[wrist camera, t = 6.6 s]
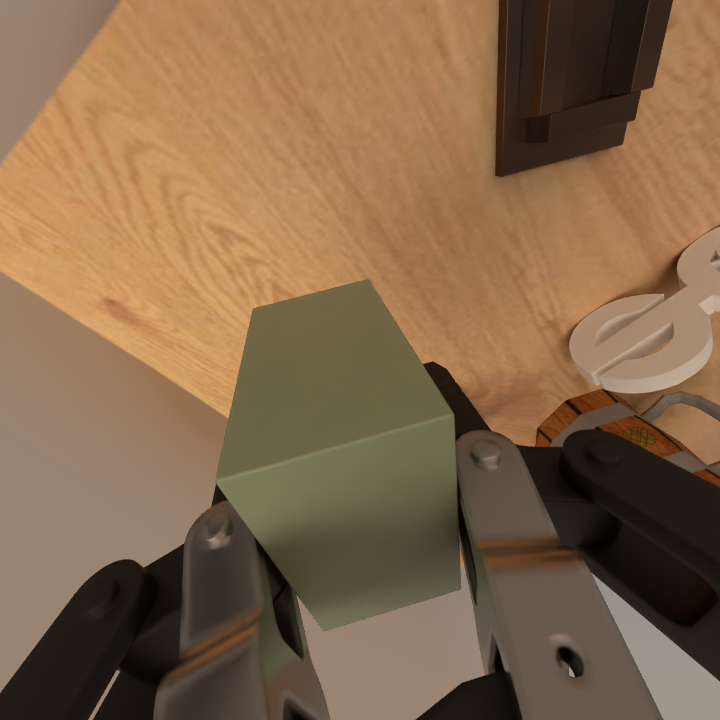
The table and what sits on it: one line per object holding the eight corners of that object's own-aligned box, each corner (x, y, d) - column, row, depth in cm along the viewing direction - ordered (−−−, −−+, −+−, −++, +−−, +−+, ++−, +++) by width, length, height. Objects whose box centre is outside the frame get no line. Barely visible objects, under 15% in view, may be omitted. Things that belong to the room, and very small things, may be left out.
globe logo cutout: (752, 201, 31) (919, 219, 23) (752, 219, 33) (911, 243, 24) (547, 342, 36) (625, 400, 28) (554, 354, 37) (630, 413, 29)
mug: (548, 473, 50) (633, 579, 38) (519, 428, 43) (613, 540, 31) (672, 403, 47) (812, 495, 34) (664, 341, 40) (837, 428, 27)
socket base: (501, -108, 18) (541, -156, 15) (668, -146, 18) (739, -201, 16) (494, 176, 26) (520, 179, 23) (612, 144, 26) (653, 144, 23)
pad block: (252, 308, 9) (213, 482, 4) (369, 278, 10) (455, 414, 5) (309, 445, 13) (322, 632, 8) (395, 421, 13) (461, 589, 8)
